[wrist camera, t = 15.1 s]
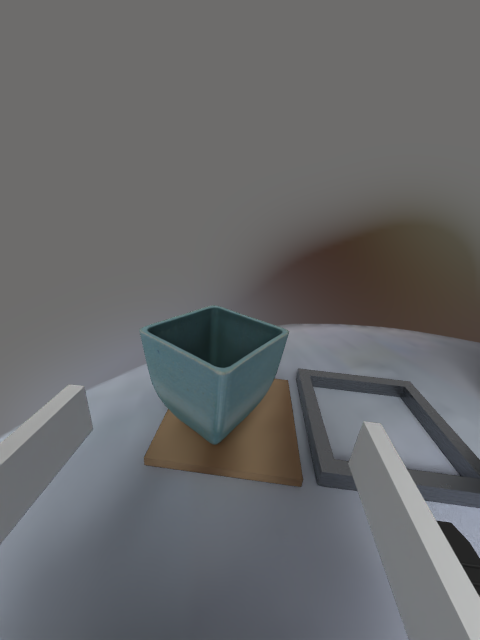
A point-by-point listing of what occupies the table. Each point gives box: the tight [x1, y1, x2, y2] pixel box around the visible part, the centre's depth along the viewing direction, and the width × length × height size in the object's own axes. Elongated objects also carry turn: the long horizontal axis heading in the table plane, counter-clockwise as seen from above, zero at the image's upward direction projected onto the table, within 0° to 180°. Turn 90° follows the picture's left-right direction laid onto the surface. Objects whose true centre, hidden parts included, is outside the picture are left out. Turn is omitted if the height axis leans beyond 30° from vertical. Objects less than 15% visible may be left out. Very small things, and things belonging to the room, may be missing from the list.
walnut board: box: [144, 379, 303, 487], centre depth 24 cm, size 12×12×1 cm
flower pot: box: [139, 305, 289, 445], centre depth 21 cm, size 9×9×9 cm
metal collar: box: [296, 369, 480, 508], centre depth 24 cm, size 13×13×2 cm
